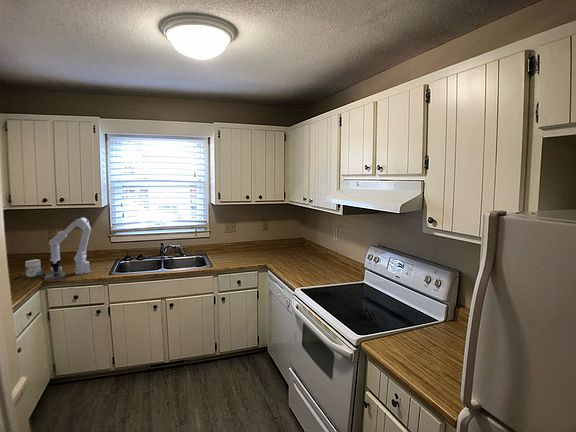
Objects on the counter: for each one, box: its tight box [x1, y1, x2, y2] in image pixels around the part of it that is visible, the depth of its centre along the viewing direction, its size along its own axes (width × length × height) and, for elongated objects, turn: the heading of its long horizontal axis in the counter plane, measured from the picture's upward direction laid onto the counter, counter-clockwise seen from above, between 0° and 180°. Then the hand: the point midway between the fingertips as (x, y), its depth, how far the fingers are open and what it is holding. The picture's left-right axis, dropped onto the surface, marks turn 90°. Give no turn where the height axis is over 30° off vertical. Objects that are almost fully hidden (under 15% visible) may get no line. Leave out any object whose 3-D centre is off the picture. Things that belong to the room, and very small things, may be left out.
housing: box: [50, 266, 63, 274], centre depth 270 cm, size 7×5×5 cm
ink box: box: [24, 259, 42, 278], centre depth 264 cm, size 8×5×12 cm, turn 152°
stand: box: [43, 272, 66, 281], centre depth 260 cm, size 12×10×2 cm
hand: (56, 270), depth 269 cm, fingers open, 7 cm apart
